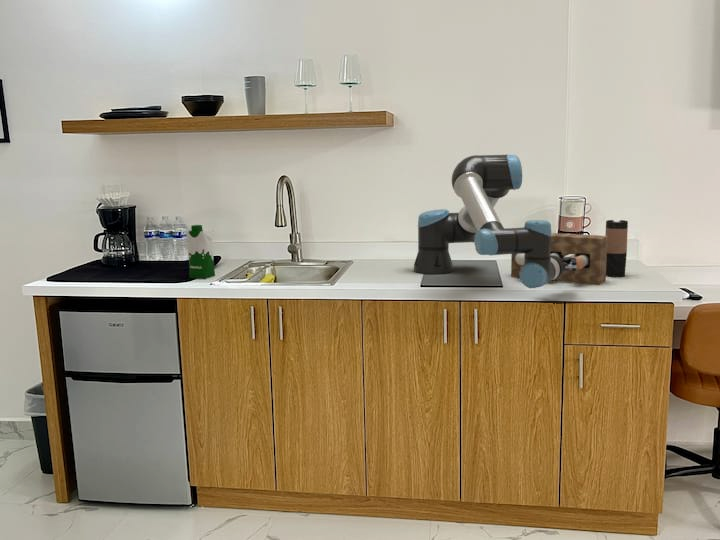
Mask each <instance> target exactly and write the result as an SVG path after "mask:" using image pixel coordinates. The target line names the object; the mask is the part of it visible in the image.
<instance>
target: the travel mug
mask: <svg viewBox="0 0 720 540" xmlns="http://www.w3.org/2000/svg"><path fill="white" fill-rule="evenodd" d="M628 223H629V221H628V220H624V219H622V220H621V219H620V220H619V221H618V220H617V221H614V219H610V220H609V219H608V220H606V221H605V235H604V236H608V237H607V261H606V277H609V278H610V277H611V278H623V277H626V267H627V255H628V254H627V253H628V232H629V231H628V225H629V224H628Z"/></svg>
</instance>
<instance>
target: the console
mask: <svg viewBox="0 0 720 540" xmlns="http://www.w3.org/2000/svg"><path fill="white" fill-rule="evenodd" d="M551 236H552V237H551V254H552V253H558V254H559V255H563V257H564V256H567V255H569V254H575V257H577V256H580V255H587V256H588V258H589V263H588V265H586V266H584V267H583V268H582V269H579V270H576V271H573V270H570V268H568V270H566V271H564V272H563V274H562V275H561V276H560V277H559V278H557V279H555V281H554V282H562V281H563V283H564V282H565V283H573V284H574V283H575V284H583V285H584V284H587V285H596V286H597V285H598V286H601V285H602V284H604V282H606V279H607V276H606V261H607V237H608V236H605V235H599V234H598V235H597V234H596V235H595V234H594V235H593V234H581V233H579V234H578V233H559V232H551ZM516 255H517V254H511V265H510V266H511V268H510V277H511V278H519V279H520V276H519V274H520V270H521V269H522V267H523V266H524V265H519V264H517V262H516V260H515V257H516Z"/></svg>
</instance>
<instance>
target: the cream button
mask: <svg viewBox="0 0 720 540" xmlns="http://www.w3.org/2000/svg"><path fill="white" fill-rule="evenodd" d="M515 260H516V262H517V264H519V265H524V254H517V255H516V257H515Z"/></svg>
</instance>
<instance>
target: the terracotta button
mask: <svg viewBox="0 0 720 540" xmlns="http://www.w3.org/2000/svg"><path fill="white" fill-rule="evenodd" d="M574 258H576V263H577V267H576V270H579V269H582V268H583V267H584V266H586V265H588V263H589V258H588V256H587V255H580V256H577V257H574Z"/></svg>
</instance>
